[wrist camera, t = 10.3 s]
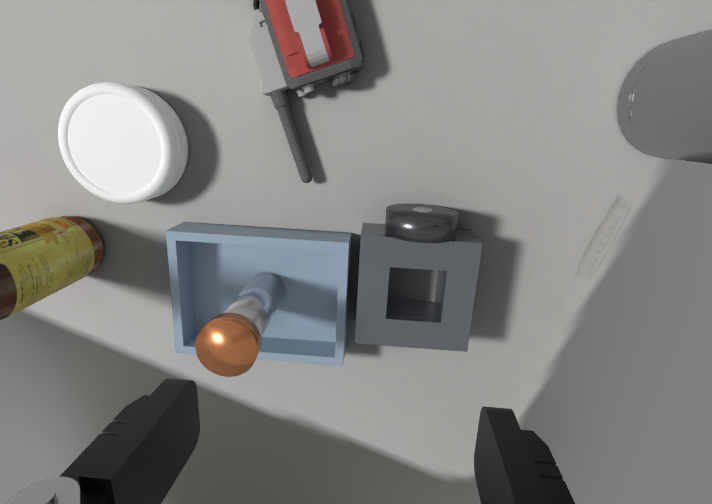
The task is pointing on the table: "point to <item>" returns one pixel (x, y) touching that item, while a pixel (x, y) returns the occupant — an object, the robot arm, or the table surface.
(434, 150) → the table surface
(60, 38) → the table surface
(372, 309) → the block
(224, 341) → the lock pin
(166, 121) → the white round disc stack
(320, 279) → the tray
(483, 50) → the table surface
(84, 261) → the sauce bottle
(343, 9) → the walkie-talkie
